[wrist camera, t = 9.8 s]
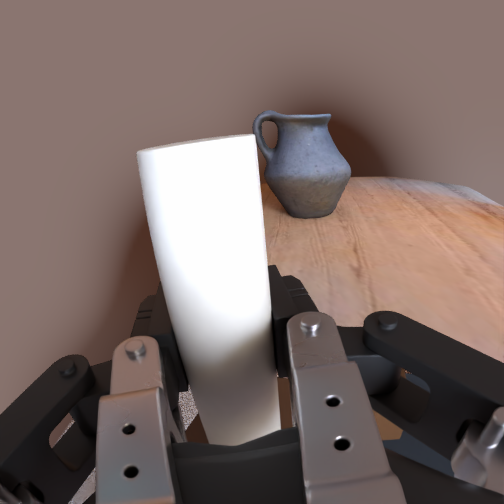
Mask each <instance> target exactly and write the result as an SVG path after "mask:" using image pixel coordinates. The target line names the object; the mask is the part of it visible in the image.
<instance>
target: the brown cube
mask: <svg viewBox="0 0 504 504" xmlns="http://www.w3.org/2000/svg"><path fill="white" fill-rule="evenodd" d="M400 375H401V376H402V377H404V378H406V376H405V371H404V369H403V368H402V370H401V374H400ZM372 410H373V409H372ZM373 413H374V417H375V420H376V423H377V426H378V429H379V433H380V436H381V439H382V440H394V439H400V437H401V434H402V432H403V430H402V429H400V428H399V427H398V426H396V425H395V424H393V423H392V422H390V421H389V420H387V419H386V418H384V417H383V416H381V415H380V414H378V413H377V412H376V411H374V410H373Z"/></svg>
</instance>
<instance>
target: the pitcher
mask: <svg viewBox="0 0 504 504" xmlns="http://www.w3.org/2000/svg"><path fill="white" fill-rule="evenodd" d="M330 118H331V115H330V114H323V115H283V114H279V113H277V112H275V111H270V110H269V111H265V112H262V113H261V114H259V115H258V116H257V117H256V119H255V120H254V123H253V127H252V128H253V134H254V135H255V138H256V143H257V145H258V147H259V149H260V150H261V152H262V154H263V156H264V157H265V159H266V162H267V165H266V168H265V172H264V177H265V180H266V182H267V184H268V186H269V187H270V189H271V190H272V192H273V193H274V194H275V196H276V197H277V199H278V200H279V202H280V203H281V204H282V205H283V207H284V208H285V210H286V211H287V213H288V214H289V215H290V216H292V217H297V218H304V219H306V218H320V217H324V216H327V215H329V214H331V213H332V212H333V211H334V209H335V208H336V205H337V203H338V201H339V199H340V197H341V195H342V193H343V191H344V189H345V186H346V185H347V183H348V181H349V179H350V175H351V169H350V166H349V164H348V163H347V161H346V160H345V159H344V158H343V156H342V155H341V154H340V152H339V151H338V149H337V148H336V146H335V144H334V142H333V141H332V138H331V136H330V134H329V132H328V129H327V123H328V122H329V120H330ZM264 121H272V122H274V123H275V124H276V125H277V127H278V140H277V144H276V147H275V148H273V149H271V148H268V146H267V145H266V143H265V141H264V138H263V136H262V130H261V129H262V126H261V125H262V122H264Z"/></svg>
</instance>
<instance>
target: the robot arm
mask: <svg viewBox="0 0 504 504" xmlns="http://www.w3.org/2000/svg"><path fill="white" fill-rule="evenodd" d="M268 274H269V286H270V297H271V311H272V323H273V335H274V347H275V359H276V369H277V373H278V376H279V378H283V377H288V379H289V383H290V399H291V411H292V423H293V427H291V428H286V429H280V430H277V431H274V432H272V433H269V434H267V435H264V436H262V437H259V438H257V439H254V440H251V441H248V442H246V443H243V444H240V445H236V446H228V445H216V444H206V443H197V442H187V438H186V433H185V428H184V423H183V418H182V413H181V408H180V405H179V403H178V400H179V392H186V391H188V387H189V382H188V379H187V376H186V372H185V369H184V366H183V362H182V359H181V356H180V352H179V349H178V345H177V342H176V338H175V334H174V331H173V327H172V323H171V320H170V316H169V312H168V308H167V304H166V300H165V296H164V292H163V288H162V284H161V281H160V283H159V287H158V290H157V294H156V295H150V296H148V297H147V298H146V299H145V300H144V301H143V302H142V303H141V304H140V307H139V310H138V313H137V317H136V320H135V323H134V326H133V330H132V333H131V337H130V338H129V339H126V340H124V341H123V342H121V343H120V344H119V345H118V346H117V347H116V348H115V350H114V352H113V359H112V360H110V361H107V362H104V363H100V364H97V365H94V366H90V365H89V362H88V360H87V359H86V358H85V357H84V356H82V355H68V356H65V357H63V358H61V359H59V360H58V361H56V362H55V363H54V364H52V365H51V366H50V367H49V368H48V369H47V370H46V371H45V372H44V373H43V374H42V375H41V376H40V377H39V378H38V379H37V380H35V381H34V382H33V383H32V384H31V385H30V386H29V387H28V388H27V389H26V390H25V391H24V392H23V393H22V394H21V395H20V396H19V397H18V398H17V399H16V400H15V401H14V402H13V403H12V404H11V405H10V406H9V407H8V408H7V409H6V410H5V411H4V412H3V413H2V414H1V415H0V504H68V503H69V502H70V500H71V499H72V498H73V496H74V495H75V494H76V492H77V491H78V490H79V488H80V487H81V485H82V484H83V483H84V481H85V480H86V479H87V477H88V476H89V475H90V473H91V472H92V471H93V469H94V468H95V467H96V491H95V492H94V493H93V494H92V495H91V496H90V497H89V498H88V499H87V500H86V501H85V502H84V503H82V504H504V363H502V362H500V361H498V360H496V359H494V358H492V357H490V356H488V355H486V354H483V353H481V352H479V351H477V350H475V349H473V348H471V347H469V346H467V345H465V344H463V343H461V342H458V341H456V340H454V339H452V338H450V337H448V336H446V335H444V334H442V333H440V332H437V331H435V330H433V329H431V328H429V327H427V326H425V325H423V324H421V323H419V322H416V321H414V320H412V319H410V318H408V317H406V316H404V315H402V314H399V313H397V312H392V311H378V312H374V313H372V314H370V315H368V316H367V317H366V318H365V320H364V326H363V327H341V326H337V325H336V323H335V321H334V319H333V318H332V317H330V316H329V315H327V314H325V313H321V312H319V311H318V309H317V307H316V306H315V304H314V302H313V301H312V299H311V297H310V296H309V295H308V292H307V291H306V289H305V287H304V286H303V284H302V283H301V281H300V280H299V279H297V278H295V277H293V276H292V275H289V276H283V277H281V275H280V273H279V271H278V269H277V267H276V265H270V266H268ZM402 368H403V369H405V370H407V371H408V372H410V373H412V374H414V375H415V376H417V377H419V378H421V379H422V380H424V381H425V382H426V383H427V384H428V386H429V388H430V392H428V391H426V390H424V389H423V388H421V387H419V386H418V385H416V384H414V383H412V382H411V381H409V380H407V379H406V378H404V377H402V376H401V375H400V374H401V370H402ZM372 409H373V410H374V411H376V412H377V413H378V414H380V415H381V416H383V417H384V418H386V419H387V420H389V421H390V422H392V423H393V424H395V425H396V426H398V427H399V428H400V429H402V430H403V431H405V432H406V433H408V434H409V435H411V436H412V437H414V438H416V439H417V440H419V441H420V442H422V443H423V444H425V445H426V446H428V447H429V448H431V449H432V450H434V451H436V452H437V453H439V454H440V455H442V456H443V457H445V458H447V459H448V460H450V461H451V467H452V470H453V472H454V477H453V476H450V475H448V474H445V473H443V472H440V471H438V470H435V469H433V468H430V467H428V466H426V465H423V464H421V463H419V462H416V461H414V460H412V459H409V458H407V457H405V456H403V455H400V454H398V453H396V452H394V451H392V450H390V449H387V448H385V447H384V446H383V442H382V439H381V436H380V433H379V429H378V426H377V423H376V420H375V417H374V413H373V410H372ZM68 413H70V415H71V416H72V418H73V419H74V421H75V422H74V424H73V425H72V426H71V427H70V428H69V429H68V431H67V432H66V433H65V434H64V435H63V436H62V438H61V439H60V440H59V441H58V442H57V443H56V445H55V446H54V447H53V448H51V447H50V445H49V436H50V434H51V432H52V431H53V430H54V428H55V427H56V426H57V425H58V424H59V423H60V422H61V421H62V419H63V418H64V417H65V416H66V415H67V414H68Z"/></svg>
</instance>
